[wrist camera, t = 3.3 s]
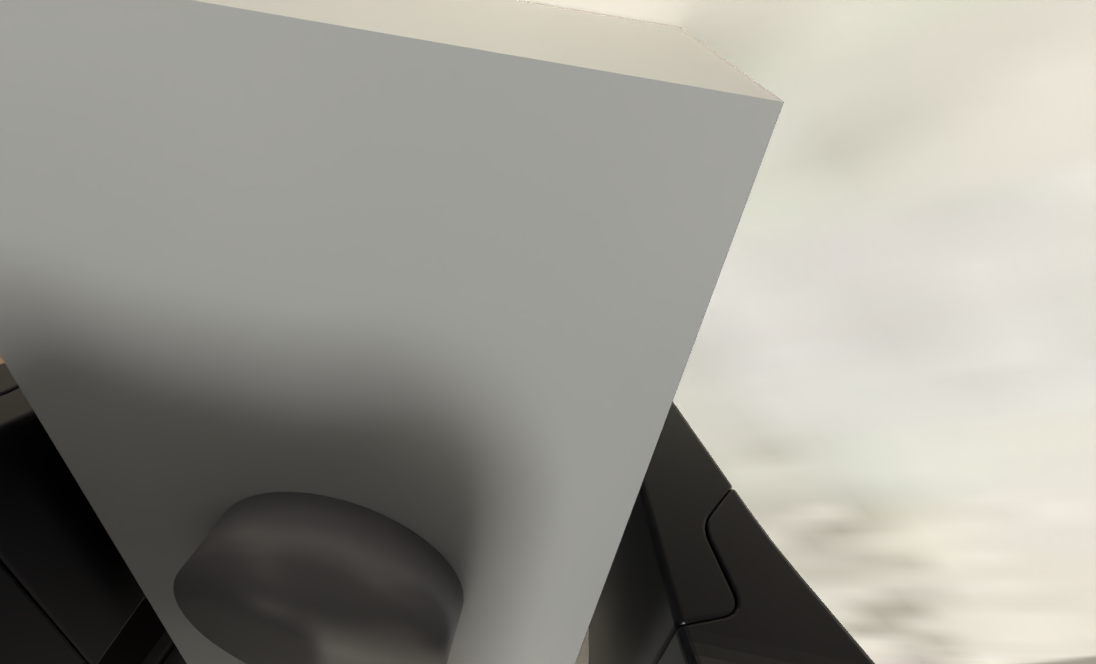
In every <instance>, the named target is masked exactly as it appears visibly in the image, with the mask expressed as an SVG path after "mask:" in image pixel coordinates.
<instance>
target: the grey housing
mask: <svg viewBox="0 0 1096 664" xmlns="http://www.w3.org/2000/svg"><path fill="white" fill-rule="evenodd" d="M783 103H784V102H783V101H782V100H780V99H779V98H778V97H776V96H775V95H774V94H772V93H771V92H769V91H768V90H767V89H765V88H764V87H762V86H761V85H760V84H758V83H757V82H755V81H754V80H753V79H751V78H750V77H748V76H747V75H746V74H744V73H743V72H742V71H740V70H739V69H737V68H736V67H735V66H733V65H732V64H730V63H729V62H728V61H726V60H725V59H723V58H722V57H721V56H719V55H718V54H716V53H715V52H714V51H712V50H711V49H710V48H708V47H707V46H705V45H704V44H703V43H701V42H700V41H698V40H697V39H696V38H694V37H693V36H691V35H690V34H689V33H687V32H686V31H685V30H683V29H682V28H680V27H674V26H668V25H662V24H656V23H651V22H645V21H639V20H633V19H627V18H621V17H615V16H609V15H603V14H597V13H591V12H585V11H579V10H573V9H567V8H561V7H555V6H549V5H543V4H537V3H531V2H525V1H519V0H0V356H1V357H2V359H3V361H4V362H5V364H6V365H7V367H8V369H9V370H10V372H11V374H12V375H13V377H14V379H15V380H16V382H17V384H18V385H19V387H20V389H21V390H22V392H23V394H24V395H25V397H26V399H27V400H28V402H29V404H30V405H31V407H32V409H33V410H34V412H35V413H36V415H37V417H38V418H39V420H40V422H41V423H42V425H43V427H44V428H45V430H46V432H47V433H48V435H49V437H50V438H51V440H52V442H53V443H54V445H55V447H56V448H57V450H58V452H59V453H60V455H61V457H62V458H63V460H64V461H65V463H66V465H67V466H68V468H69V470H70V471H71V473H72V475H73V476H74V478H75V480H76V481H77V483H78V485H79V486H80V488H81V490H82V491H83V493H84V495H85V496H86V498H87V500H88V501H89V503H90V505H91V506H92V508H93V510H94V511H95V513H96V514H97V516H98V518H99V519H100V521H101V523H102V524H103V526H104V528H105V529H106V531H107V533H108V534H109V536H110V538H111V539H112V541H113V543H114V544H115V546H116V548H117V549H118V551H119V553H120V554H121V556H122V558H123V559H124V561H125V562H126V564H127V566H128V567H129V569H130V571H131V572H132V574H133V576H134V577H135V579H136V581H137V582H138V584H139V586H140V587H141V589H142V591H143V592H144V594H145V596H146V597H147V599H148V601H149V602H150V604H151V606H152V607H153V609H154V610H155V612H156V614H157V615H158V617H159V619H160V620H161V622H162V624H163V625H164V627H165V629H166V630H167V632H168V634H169V635H170V637H171V639H172V640H173V642H174V644H175V645H176V647H177V649H178V650H179V652H180V654H181V655H182V657H183V658H184V660H185V662H186V663H187V664H575V662H576V659H577V657H578V654H579V651H580V649H581V646H582V643H583V640H584V638H585V635H586V632H587V630H588V627H589V624H590V622H591V619H592V616H593V614H594V611H595V608H596V605H597V603H598V600H599V597H600V595H601V592H602V589H603V587H604V584H605V581H606V579H607V576H608V573H609V571H610V568H611V565H612V562H613V560H614V557H615V554H616V552H617V549H618V546H619V544H620V541H621V538H622V536H623V533H624V530H625V528H626V525H627V522H628V519H629V517H630V514H631V511H632V509H633V506H634V503H635V501H636V498H637V495H638V493H639V490H640V487H641V484H642V482H643V479H644V476H645V474H646V471H647V468H648V466H649V463H650V460H651V458H652V455H653V452H654V450H655V447H656V444H657V441H658V439H659V436H660V433H661V431H662V428H663V425H664V423H665V420H666V417H667V415H668V412H669V409H670V407H671V404H672V401H673V398H674V396H675V393H676V390H677V388H678V385H679V382H680V380H681V377H682V374H683V372H684V369H685V366H686V363H687V361H688V358H689V355H690V353H691V350H692V347H693V345H694V342H695V339H696V337H697V334H698V331H699V329H700V326H701V323H702V320H703V318H704V315H705V312H706V310H707V307H708V304H709V302H710V299H711V296H712V294H713V291H714V288H715V286H716V283H717V280H718V277H719V275H720V272H721V269H722V267H723V264H724V261H725V259H726V256H727V253H728V251H729V248H730V245H731V242H732V240H733V237H734V234H735V232H736V229H737V226H738V224H739V221H740V218H741V216H742V213H743V210H744V208H745V205H746V202H747V199H748V197H749V194H750V191H751V189H752V186H753V183H754V181H755V178H756V175H757V173H758V170H759V167H760V165H761V162H762V159H763V156H764V154H765V151H766V148H767V146H768V143H769V140H770V138H771V135H772V132H773V130H774V127H775V124H776V121H777V119H778V116H779V113H780V111H781V108H782V105H783Z"/></svg>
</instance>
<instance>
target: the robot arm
mask: <svg viewBox="0 0 1096 664" xmlns="http://www.w3.org/2000/svg"><path fill="white" fill-rule="evenodd" d="M731 489H732V485H731V484H730V482H729V481H728V480H727V478H726V477H725V475H724V474H723V472H722V471H721V470H720V468H719V467H718V465H717V464H716V462H715V461H714V460H713V458H712V457H711V455H710V454H709V452H708V451H707V450H706V448H705V447H704V445H703V444H702V443H701V441H700V440H699V438H698V437H697V435H696V434H695V433H694V431H693V430H692V428H691V427H690V425H689V424H688V423H687V421H686V420H685V418H684V417H683V415H682V414H681V413H680V411H679V410H678V408H677V407H676V405H675V404H674V403H673V401H672V404H671V407H670V409H669V412H668V415H667V417H666V420H665V423H664V425H663V428H662V431H661V433H660V436H659V439H658V441H657V444H656V447H655V450H654V452H653V455H652V458H651V460H650V463H649V466H648V468H647V471H646V474H645V476H644V479H643V482H642V484H641V487H640V490H639V493H638V495H637V498H636V501H635V503H634V506H633V509H632V511H631V514H630V517H629V519H628V522H627V525H626V528H625V530H624V533H623V536H622V538H621V541H620V544H619V546H618V549H617V552H616V554H615V557H614V560H613V562H612V565H611V568H610V571H609V573H608V576H607V579H606V581H605V584H604V587H603V589H602V592H601V595H600V597H599V600H598V603H597V605H596V608H595V611H594V614H593V616H592V619H591V622H590V624H589V664H875V663H874V662H873V661H872V660H871V659H870V657H869V656H868V655H867V654H866V653H865V651H864V650H863V649H862V648H861V647H860V646H859V644H858V643H857V642H856V641H855V640H854V638H853V637H852V636H851V635H850V634H849V633H848V631H847V630H846V629H845V628H844V627H843V625H842V624H841V623H840V622H839V621H838V620H837V618H836V617H835V616H834V615H833V614H832V613H831V611H830V610H829V609H828V608H827V607H826V605H825V604H824V603H823V602H822V601H821V600H820V598H819V597H818V596H817V595H816V594H815V592H814V591H813V590H812V589H811V588H810V587H809V585H808V584H807V583H806V582H805V581H804V579H803V578H802V577H801V576H800V575H799V573H798V572H797V571H796V570H795V569H794V567H793V566H792V565H791V564H790V562H789V561H788V560H787V559H786V557H785V556H784V555H783V554H782V553H781V551H780V550H779V549H778V548H777V546H776V545H775V544H774V543H773V542H772V540H771V539H770V538H769V536H768V535H767V534H766V532H765V531H764V529H763V528H762V527H761V525H760V524H759V523H758V521H757V520H756V519H755V517H754V516H753V515H752V513H751V512H750V511H749V509H748V508H747V506H746V505H745V503H744V502H743V501H742V499H741V498H740V496H739V495H738V494H737V492H736V491H735V490H733V489H732V490H731ZM0 664H187V663H186V662H185V660H184V658H183V657H182V655H181V654H180V652H179V650H178V649H177V647H176V645H175V644H174V642H173V640H172V639H171V637H170V635H169V634H168V632H167V630H166V629H165V627H164V625H163V624H162V622H161V620H160V619H159V617H158V615H157V614H156V612H155V610H154V609H153V607H152V606H151V604H150V602H149V601H148V599H147V597H146V596H145V594H144V592H143V591H142V589H141V587H140V586H139V584H138V582H137V581H136V579H135V577H134V576H133V574H132V572H131V571H130V569H129V567H128V566H127V564H126V562H125V561H124V559H123V558H122V556H121V554H120V553H119V551H118V549H117V548H116V546H115V544H114V543H113V541H112V539H111V538H110V536H109V534H108V533H107V531H106V529H105V528H104V526H103V524H102V523H101V521H100V519H99V518H98V516H97V514H96V513H95V511H94V510H93V508H92V506H91V505H90V503H89V501H88V500H87V498H86V496H85V495H84V493H83V491H82V490H81V488H80V486H79V485H78V483H77V481H76V480H75V478H74V476H73V475H72V473H71V471H70V470H69V468H68V466H67V465H66V463H65V461H64V460H63V458H62V457H61V455H60V453H59V452H58V450H57V448H56V447H55V445H54V443H53V442H52V440H51V438H50V437H49V435H48V433H47V432H46V430H45V428H44V427H43V425H42V423H41V422H40V420H39V418H38V417H37V415H36V413H35V412H34V410H33V409H32V407H31V405H30V404H29V402H28V400H27V399H26V397H25V395H24V394H23V392H22V390H21V389H20V387H19V385H18V384H17V382H16V380H15V379H14V377H13V375H12V374H11V372H10V370H9V369H8V367H7V365H6V364H5V363H2V364H0Z"/></svg>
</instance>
